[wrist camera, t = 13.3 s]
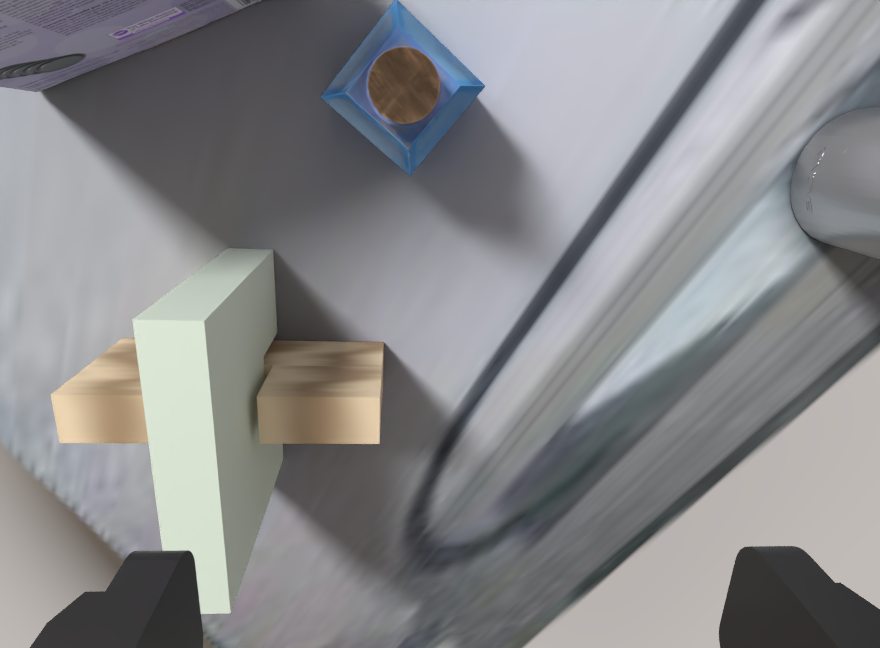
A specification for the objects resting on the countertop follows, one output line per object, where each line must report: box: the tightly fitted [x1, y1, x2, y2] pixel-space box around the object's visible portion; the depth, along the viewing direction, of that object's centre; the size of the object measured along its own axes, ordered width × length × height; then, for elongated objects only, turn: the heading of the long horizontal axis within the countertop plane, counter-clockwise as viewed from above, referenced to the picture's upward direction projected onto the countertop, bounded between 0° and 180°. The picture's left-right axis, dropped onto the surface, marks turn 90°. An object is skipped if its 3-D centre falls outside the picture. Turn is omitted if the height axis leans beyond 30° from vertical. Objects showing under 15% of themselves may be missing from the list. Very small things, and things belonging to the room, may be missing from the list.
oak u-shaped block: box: [51, 338, 384, 444], centre depth 38 cm, size 18×3×9 cm, turn 88°
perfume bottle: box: [320, 0, 485, 176], centre depth 32 cm, size 6×6×12 cm
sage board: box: [132, 248, 284, 614], centre depth 35 cm, size 3×16×15 cm, turn 178°
